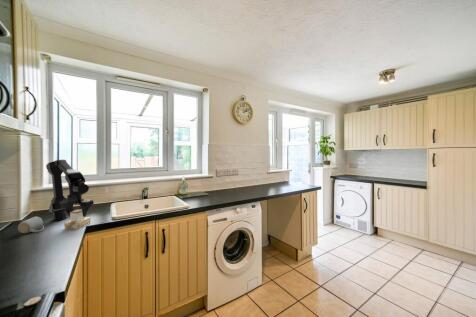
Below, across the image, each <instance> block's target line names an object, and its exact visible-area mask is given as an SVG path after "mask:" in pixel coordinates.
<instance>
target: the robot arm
mask: <svg viewBox="0 0 476 317" xmlns="http://www.w3.org/2000/svg"><path fill="white" fill-rule="evenodd" d="M46 170H47V173H48V174H49V175H51V180H52V181H51V182H52V192H53V197H52V198H51V200H50V205H49V207H48V212H49V213H51V214H52V219H51V220H50V221H51V222H59V221H62V220H65V219H68V218H70V212H72V211H74V206H75V205H77V206H80V207H79V208H80V210H82V214H83V217H87V216H86V215H87V214H88V211H89V209H90V207H92V206H93V205H94V204H95V202H94V200H93V199H84V198H82V195H85V194H86V193H87V192H88V191H89V189H90V188H89V186H88V184H85V183H86V178H85V177H84V176H83V173H82V172H81V171H79V170H78V169H74V168H73V167H72V166H71V165H70V164H69V163H68V162H67V160H66V159H56V160H53V161H50V162H48V163H47V164H46ZM62 174H64V179H65V181H66V183H67V186H68V193H69V194H67V197H66V196H64V192H63V189H64V188H63V180H62Z"/></svg>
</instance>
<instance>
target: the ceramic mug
mask: <svg viewBox="0 0 476 317" xmlns="http://www.w3.org/2000/svg"><path fill="white" fill-rule="evenodd" d="M17 229H18V231H19V233H21V234H29V233H31V232H32V233H39V232H43V231H44V229H45V226H44V221H43V219H42V218H41V217H39V216H33V217H30V218H28V219H26V220H23V221H22V222H20V223H19V224H18V225H17Z"/></svg>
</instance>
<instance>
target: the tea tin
mask: <svg viewBox="0 0 476 317" xmlns="http://www.w3.org/2000/svg"><path fill="white" fill-rule="evenodd" d="M85 217H86V216H85ZM85 217H83V214H82V209H75V210H74V209H73V211H72V212H70V217H69V218H70V220H71V222H78V221H81V220H83V219H85Z"/></svg>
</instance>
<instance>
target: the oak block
mask: <svg viewBox="0 0 476 317" xmlns="http://www.w3.org/2000/svg"><path fill="white" fill-rule="evenodd" d="M91 220H92V219H91V217H87V216H85V219H83V220H81V221H78V222H71V219H70V220H68V221H66V222H64V225H63V226H64V230H80V229H81V227H82V228H84V227H85V226H84V225H86V224H88V223H90V222H91V223H92V221H91ZM91 223H90V224H91ZM88 225H89V224H88ZM83 226H84V227H83ZM86 226H87V225H86Z"/></svg>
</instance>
